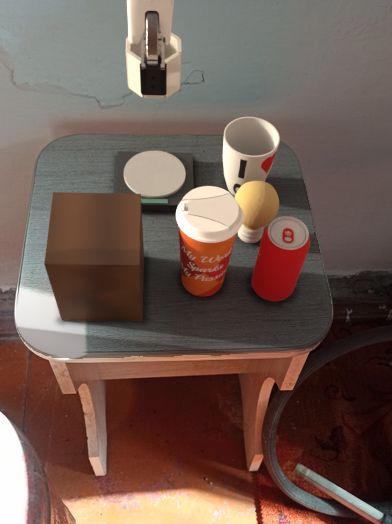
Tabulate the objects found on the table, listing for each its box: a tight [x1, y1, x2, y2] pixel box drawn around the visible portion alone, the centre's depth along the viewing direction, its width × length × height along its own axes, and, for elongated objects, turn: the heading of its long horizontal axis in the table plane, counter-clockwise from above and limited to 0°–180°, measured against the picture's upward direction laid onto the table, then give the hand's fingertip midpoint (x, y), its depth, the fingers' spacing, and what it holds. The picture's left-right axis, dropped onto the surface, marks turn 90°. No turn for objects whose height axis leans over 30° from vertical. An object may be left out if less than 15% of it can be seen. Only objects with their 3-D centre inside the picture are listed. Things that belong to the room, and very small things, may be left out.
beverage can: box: [251, 215, 311, 302], centre depth 76 cm, size 6×6×12 cm
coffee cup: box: [175, 185, 244, 297], centre depth 74 cm, size 8×8×15 cm
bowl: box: [125, 31, 183, 100], centre depth 71 cm, size 7×7×5 cm
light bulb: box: [234, 181, 280, 244], centre depth 81 cm, size 6×6×10 cm
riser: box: [43, 191, 145, 322], centre depth 74 cm, size 11×11×13 cm
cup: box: [222, 116, 281, 197], centre depth 85 cm, size 8×8×10 cm
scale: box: [114, 150, 195, 213], centre depth 88 cm, size 12×11×2 cm
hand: (153, 72), depth 72 cm, fingers closed on bowl, 6 cm apart
